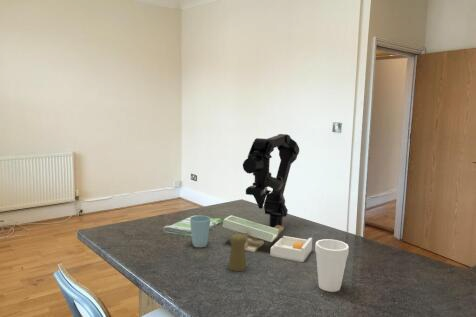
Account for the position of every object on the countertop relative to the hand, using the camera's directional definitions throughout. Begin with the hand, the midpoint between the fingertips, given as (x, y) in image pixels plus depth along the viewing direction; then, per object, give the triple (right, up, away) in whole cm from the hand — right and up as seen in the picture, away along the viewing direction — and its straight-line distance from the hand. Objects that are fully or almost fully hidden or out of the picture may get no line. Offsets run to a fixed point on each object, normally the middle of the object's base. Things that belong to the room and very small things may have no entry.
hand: (260, 208), depth 154 cm
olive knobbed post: (-9, -16, -28) cm, 34 cm away
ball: (+12, -12, -16) cm, 24 cm away
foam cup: (+18, -18, -40) cm, 48 cm away
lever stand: (-5, -13, -8) cm, 16 cm away
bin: (+10, -14, -15) cm, 23 cm away
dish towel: (-28, -10, +13) cm, 33 cm away
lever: (-3, -7, -5) cm, 9 cm away
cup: (-24, -13, -9) cm, 28 cm away
